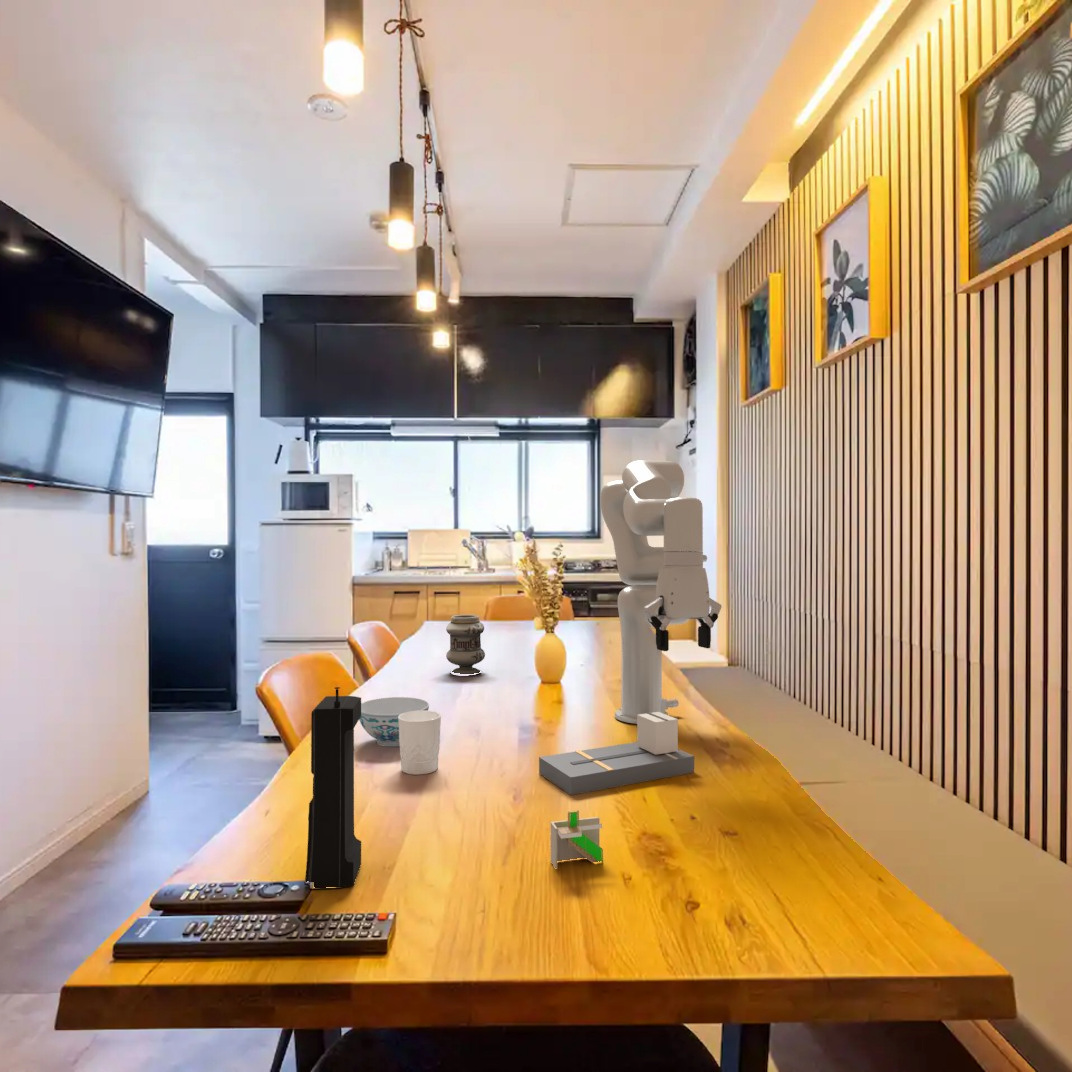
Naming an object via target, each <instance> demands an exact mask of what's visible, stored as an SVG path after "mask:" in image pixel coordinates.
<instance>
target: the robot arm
mask: <svg viewBox="0 0 1072 1072" xmlns="http://www.w3.org/2000/svg"><path fill="white" fill-rule="evenodd" d="M684 485H685V474H684V470H683V468H682V466H680V464H679V463H678V462H676V461H674V460H655V459H654V460H652V459H651V460H647V459H646V460H645V459H644V460H643V459H642V460H634V461H632V462H630V463H628V464H627V465H626V466H625V467H624V469H623V471H622V473H621V480H620V479H619V480H613V481H610V482H608V483H606V484H605V485H604V486H603V487H602V489H601V491H600V509H601V514H602V518H603V520H604V521H603V522H604V523H605V525H606V527H607V529H608V531H609V533H610V535H611V538H612V541H613V548H614V553H615V559H616V565H617V570H618V571H617V572H618V575H619V577H620V578H619V579H620V580H621V581H622V583H624V584H625V585H628V586H625V587H624V588H623V589H622V590H621V591H619V594H618V597H617V609H618V610H617V611H618V617H619V622H620V623H619V624H620V637H621V640H620V641H621V645H620V647H621V651H620V652H621V670H620V671H621V678H620V679H621V688H620V689H621V692H620V693H621V694H620V695H621V698H620V699H621V700H620V701H621V704H620V705H621V707H620V708H618V709H617V710H615V711H614V718H615V719H616V720H618V721H621V722H623V723H627V724H628V723H629V724H634V725H637V715H639V714H646V713H654V712H661V713H663V714H666V715H668V716H669V713H668V712H667V710H668V709H669V708H671V709H672V708H677V707H679V700H678V699H677V698H673V699H672V698H671V699H667V698H664V697H663V694H662V693H663V685H662V684H663V676H662V675H663V672H662V671H663V665H662V664H663V663H662V662H663V652H668V651H669V650H670V649H669V647H670V646H669V645H670V643H669V641H670V640H669V638H670V637H669V633H670V631H669V630H667V628H668V626H671V625H684V624H686V623H688V622H689V621H690V620H696V621H697V622H698V623H699V625H700V626H698V627H697V646H698V647H700V648H703V649H711V642H712V636H711V635H712V634H711V633H712V632H711V631H712V630H711V629H712V628H713V627H714V624H715V622H716V621H717V620H718V618H719V614H720V611H721V609H722V608H723V607H722V604H721V603H719V602H718V601H716V600H714V599H712V598H711V597H710V590H709V589H710V588H709V582H708V581H709V579H708V575H707V570H706V568H705V567H704V562H707V560H708V557H707V555H706V554H704V549H703V547H704V546H703V544H704V541H703V536H704V535H703V534H704V532H703V530H704V526H703V525H704V524H703V523H704V521H703V520H704V519H703V511H704V507H703V503H702V501H701V500H700V499H698V498H696V497H679V496H680V495H681V493H682V491H683V489H684ZM648 536H649V537H650V536H651V537H655V536H656V537H659V536H660V537H661V536H663V546H651V545H650V544H649V542H648ZM652 628H653V629H654V630H655V631H654V630H653V629H652Z"/></svg>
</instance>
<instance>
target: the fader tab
mask: <svg viewBox="0 0 1072 1072" xmlns="http://www.w3.org/2000/svg"><path fill="white" fill-rule="evenodd" d="M678 721H679V720H678V718H677V717H673V716H670V715H669V714H668V715H666V714H663V713H661V712H654V713H646V714H639V715H637V724H636V726H637V727H636V730H637V731H636V733H637V735H636V742H637V746H638V747H641V748H643V749H645V750H647V751H649V752H651V753H653V754H655V755H657V754H663V753H669V752H675V751H678V749H679V748H678V747H679V746H678V745H679V744H678V742H679V741H678V737H679V736H678V734H679V733H678V732H679V728H678V727H679V726H678V725H679V722H678Z"/></svg>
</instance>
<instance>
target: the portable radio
mask: <svg viewBox="0 0 1072 1072" xmlns="http://www.w3.org/2000/svg"><path fill="white" fill-rule="evenodd" d="M334 689H335V695H334V696H332V695H331V696H329V695H327V696H324V698H323V699H322V700H321V701H319V703H318V704H317V705H316V706H315V707H314V708H313V709H312V711H311V713H310V714H311V719H310V720H311V721H310V722H311V725H310V726H311V728H310V729H311V732H310V737H311V738H310V743H311V744H310V749H311V751H310V754H311V755H310V756H311V757H310V758H311V759H310V772H311V774H312V775H313V777H312V795H313V796H312V798H311V800H310V802H309V803H308V815H307V816H308V817H307V818H308V823H307V824H308V826H307V827H308V829H307V830H308V831H307V848H306V849H307V850H306V851H307V853H306V868H305V878H304V882H305V881H306V882H307V881H309V882H314V887H315V888H326V887H343V888H346V887H345V886H348V887H350V886H349V885H352V886H355V884H354V882H355V883H356V881H355V879H356V880H357V878H356V877H358V875H359V872H360V869H361V866H362V840H360V839H358V838H357V837H356V835H355V754H354V753H355V727H356V725H357V723H358V722H359V719H360V717H361V703H362V697H359V696H354V695H339V689H341V686H340V687H338V686H335V687H334ZM360 865H361V866H360ZM359 868H360V869H359ZM358 871H359V872H358ZM357 874H358V875H357Z"/></svg>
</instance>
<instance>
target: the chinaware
mask: <svg viewBox="0 0 1072 1072" xmlns="http://www.w3.org/2000/svg"><path fill="white" fill-rule="evenodd" d="M429 709H430V703H429V702H428V701H427V700H425V699H421V698H416V697H408V696H407V697H405V696H395V697H394V696H393V697H379V698H375V699H371V700H366V701H364V702H361V717H360V719H359V720H358V722H359V723H360V725H361V726H362V728H363V729H364V731H365V732H366V733H367V734H368V735H369V736H370V737H372V738H373V739H375V740H376V743H377V745H378V746H383V747H387V746H393V747H400V745H399V724H398V716H399V715H400V714H402V713H406V712H410V711H429Z"/></svg>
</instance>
